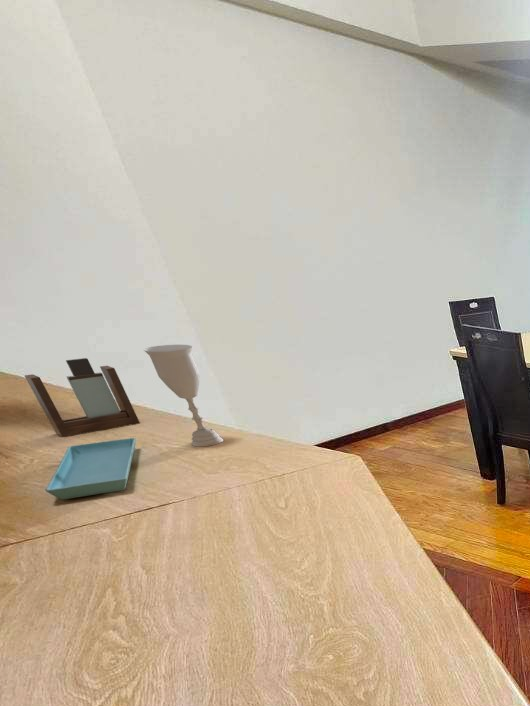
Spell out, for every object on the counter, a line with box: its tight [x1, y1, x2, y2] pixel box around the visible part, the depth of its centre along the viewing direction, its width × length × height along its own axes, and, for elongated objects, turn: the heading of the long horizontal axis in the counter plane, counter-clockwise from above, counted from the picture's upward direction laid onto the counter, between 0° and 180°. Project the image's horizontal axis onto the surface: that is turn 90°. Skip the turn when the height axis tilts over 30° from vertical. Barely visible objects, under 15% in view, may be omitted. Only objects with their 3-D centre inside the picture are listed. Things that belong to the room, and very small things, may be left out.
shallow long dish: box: [44, 437, 137, 500], centre depth 101 cm, size 26×9×2 cm, turn 39°
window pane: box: [65, 357, 121, 418], centre depth 119 cm, size 5×1×12 cm, turn 149°
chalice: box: [143, 344, 224, 447], centre depth 113 cm, size 7×7×18 cm
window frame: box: [24, 365, 141, 437], centre depth 119 cm, size 12×4×12 cm, turn 149°
